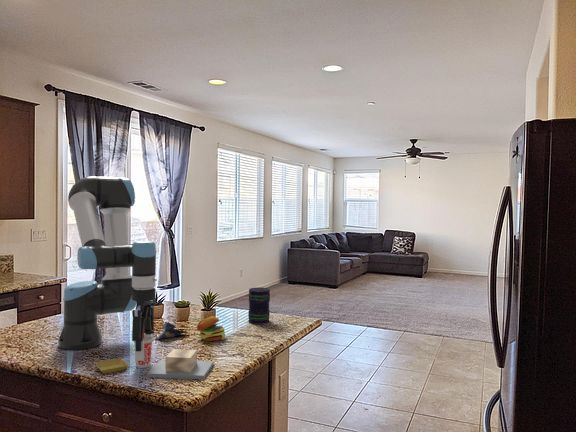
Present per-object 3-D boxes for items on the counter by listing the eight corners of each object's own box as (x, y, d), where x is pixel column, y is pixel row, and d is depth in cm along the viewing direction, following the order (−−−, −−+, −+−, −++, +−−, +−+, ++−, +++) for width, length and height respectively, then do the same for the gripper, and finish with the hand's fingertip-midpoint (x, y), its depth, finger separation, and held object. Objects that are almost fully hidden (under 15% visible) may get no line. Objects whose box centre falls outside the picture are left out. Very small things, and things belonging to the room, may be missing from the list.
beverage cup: (134, 369, 152) (134, 326, 151) (132, 363, 157) (133, 322, 157) (153, 367, 154) (154, 325, 154) (151, 361, 160) (151, 320, 159)
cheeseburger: (221, 343, 182) (215, 318, 182) (196, 347, 184) (190, 322, 184) (229, 335, 191) (224, 311, 192) (205, 339, 194) (200, 316, 194)
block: (165, 371, 148) (165, 357, 147) (173, 362, 156) (173, 349, 155) (190, 372, 147) (190, 357, 147) (196, 363, 155) (197, 349, 155)
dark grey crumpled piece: (151, 334, 193) (156, 342, 182) (154, 318, 193) (159, 325, 183) (181, 336, 198) (187, 343, 187) (184, 321, 199) (190, 327, 188)
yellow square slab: (128, 371, 151) (129, 365, 151) (100, 376, 146) (101, 370, 146) (121, 363, 158) (121, 357, 158) (94, 368, 153) (94, 362, 153)
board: (146, 377, 145) (147, 373, 145) (160, 362, 158) (160, 359, 158) (204, 379, 144) (204, 375, 144) (213, 364, 157) (213, 361, 157)
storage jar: (245, 320, 218) (245, 288, 218) (264, 318, 222) (265, 286, 222) (252, 325, 209) (253, 292, 209) (272, 323, 213) (273, 290, 213)
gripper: (144, 293, 145) (143, 367, 146) (164, 283, 164) (163, 348, 165) (120, 293, 146) (120, 366, 146) (143, 282, 165) (142, 347, 165)
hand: (143, 356), depth 156 cm, fingers closed on beverage cup, 6 cm apart
